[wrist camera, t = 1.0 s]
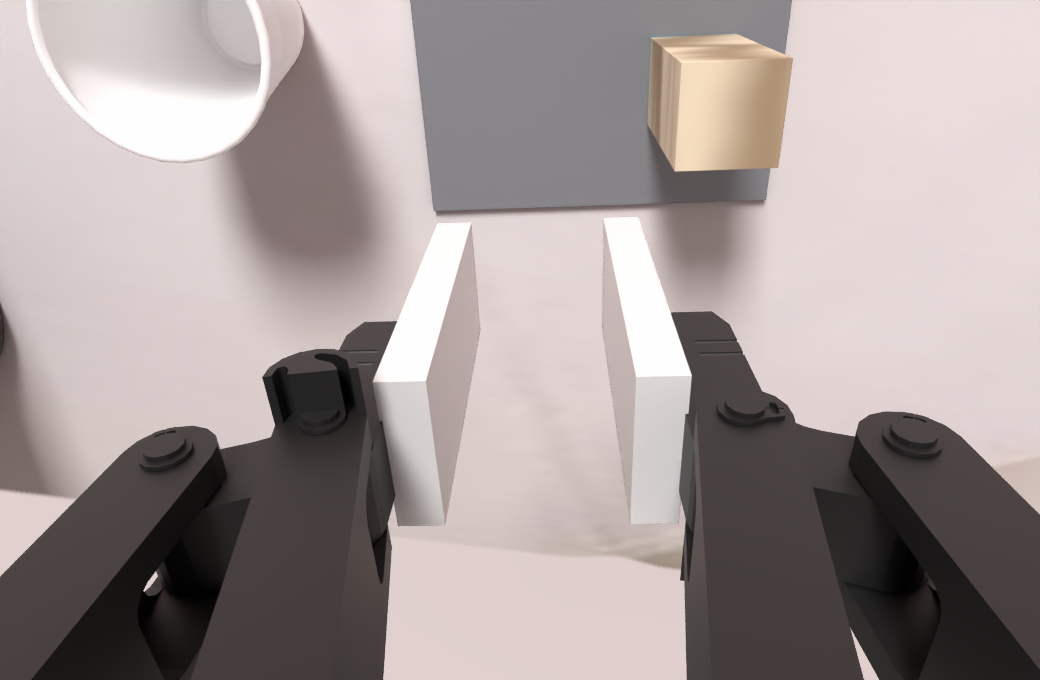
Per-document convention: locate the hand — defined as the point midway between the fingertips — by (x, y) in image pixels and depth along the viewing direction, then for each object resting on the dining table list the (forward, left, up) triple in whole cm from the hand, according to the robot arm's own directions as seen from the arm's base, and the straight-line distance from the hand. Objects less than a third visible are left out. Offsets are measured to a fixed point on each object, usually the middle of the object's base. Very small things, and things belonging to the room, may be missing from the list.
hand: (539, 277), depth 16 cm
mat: (+3, +2, -27) cm, 27 cm away
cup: (-16, +4, -27) cm, 31 cm away
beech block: (+8, 0, -26) cm, 27 cm away
